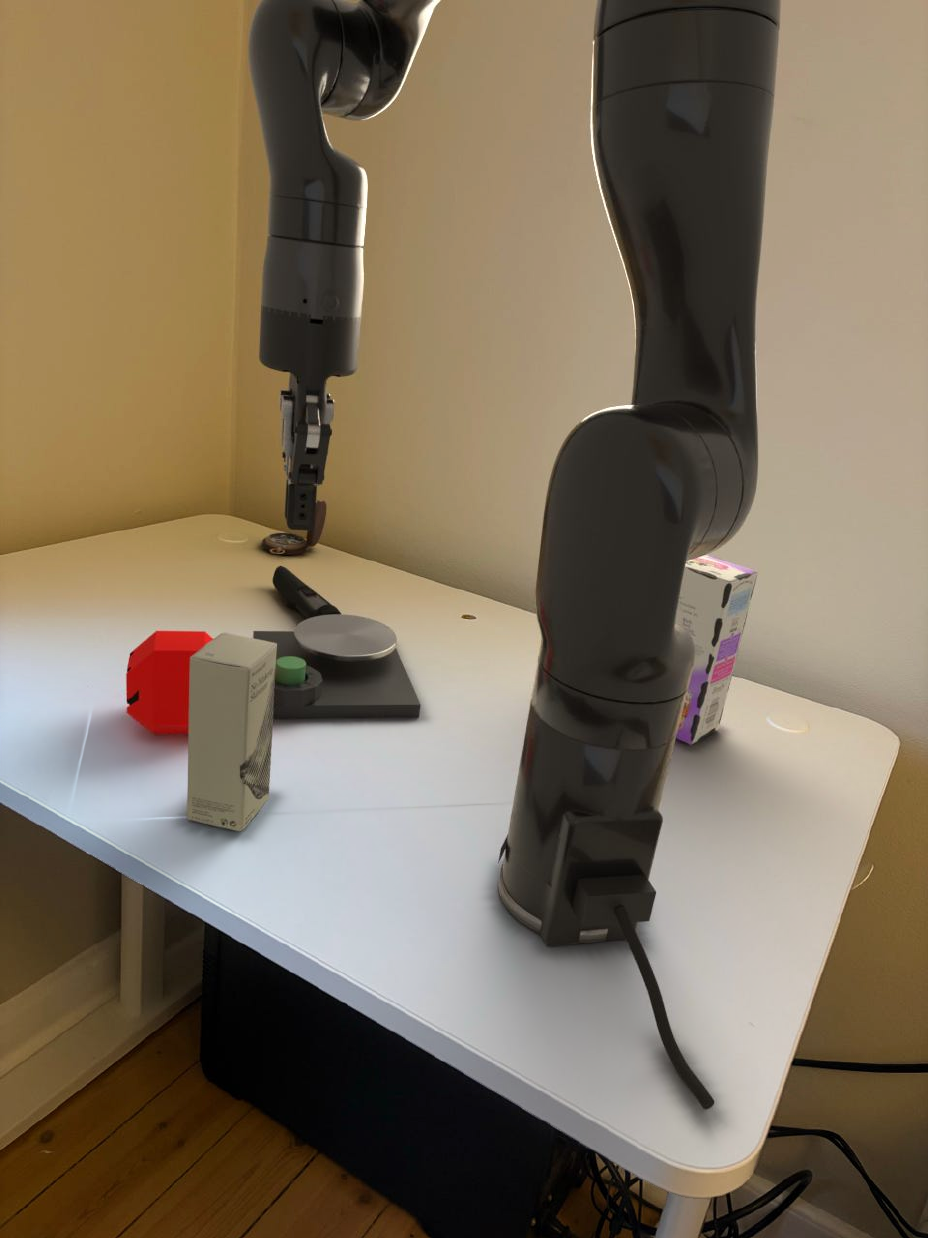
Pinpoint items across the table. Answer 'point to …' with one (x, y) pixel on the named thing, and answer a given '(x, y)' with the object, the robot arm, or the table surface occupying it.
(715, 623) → the candy box
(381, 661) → the scale
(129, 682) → the red chamfered polyhedron
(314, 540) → the compass
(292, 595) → the electric trimmer
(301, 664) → the tare button
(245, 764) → the box
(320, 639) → the weighing pan
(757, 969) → the table surface
